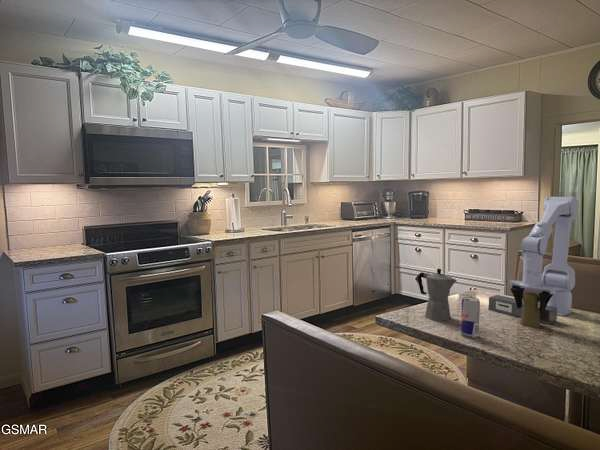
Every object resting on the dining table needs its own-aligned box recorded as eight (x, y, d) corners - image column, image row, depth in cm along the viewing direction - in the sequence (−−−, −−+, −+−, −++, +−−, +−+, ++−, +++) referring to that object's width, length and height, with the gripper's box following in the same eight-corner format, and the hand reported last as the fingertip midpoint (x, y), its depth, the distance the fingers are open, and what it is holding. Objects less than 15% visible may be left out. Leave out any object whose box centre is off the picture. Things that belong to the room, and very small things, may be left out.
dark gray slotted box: (496, 307, 166) (497, 294, 165) (556, 321, 148) (557, 307, 148) (488, 309, 162) (488, 297, 162) (548, 324, 144) (549, 310, 144)
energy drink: (457, 332, 136) (459, 296, 135) (473, 332, 137) (474, 296, 136) (465, 338, 131) (466, 301, 130) (481, 338, 132) (483, 300, 131)
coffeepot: (460, 318, 152) (462, 269, 150) (448, 324, 145) (450, 273, 144) (422, 309, 163) (423, 264, 161) (409, 314, 156) (410, 267, 155)
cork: (542, 327, 141) (544, 295, 140) (523, 326, 143) (524, 295, 142) (536, 322, 147) (537, 291, 146) (517, 321, 148) (519, 290, 148)
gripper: (505, 269, 147) (503, 307, 148) (549, 276, 135) (547, 317, 136) (515, 267, 151) (514, 304, 152) (559, 274, 139) (557, 313, 140)
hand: (530, 310), depth 144 cm, fingers open, 7 cm apart
